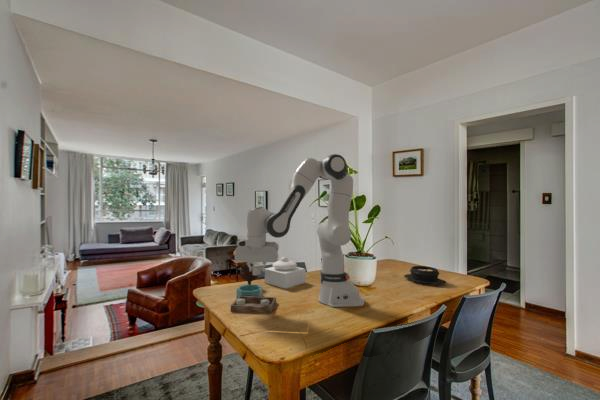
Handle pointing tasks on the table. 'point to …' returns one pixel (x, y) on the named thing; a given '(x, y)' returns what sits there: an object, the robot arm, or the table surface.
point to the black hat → (424, 275)
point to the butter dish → (285, 274)
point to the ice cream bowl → (247, 273)
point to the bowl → (249, 290)
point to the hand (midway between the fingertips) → (256, 271)
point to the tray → (254, 305)
